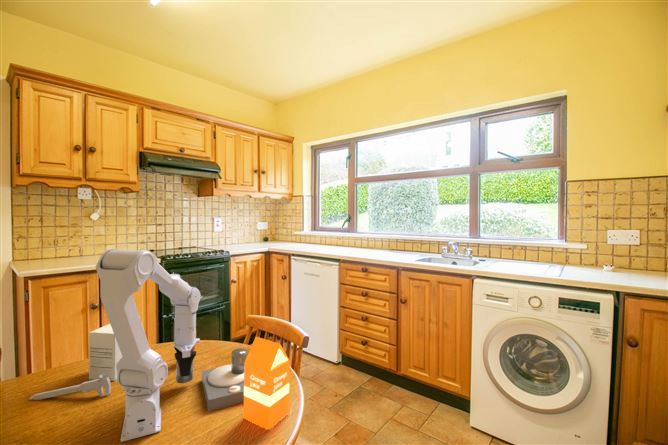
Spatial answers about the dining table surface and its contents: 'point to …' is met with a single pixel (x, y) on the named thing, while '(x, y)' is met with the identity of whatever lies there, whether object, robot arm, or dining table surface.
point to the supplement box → (103, 353)
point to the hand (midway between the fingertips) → (184, 371)
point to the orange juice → (266, 383)
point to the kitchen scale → (222, 387)
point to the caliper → (79, 388)
